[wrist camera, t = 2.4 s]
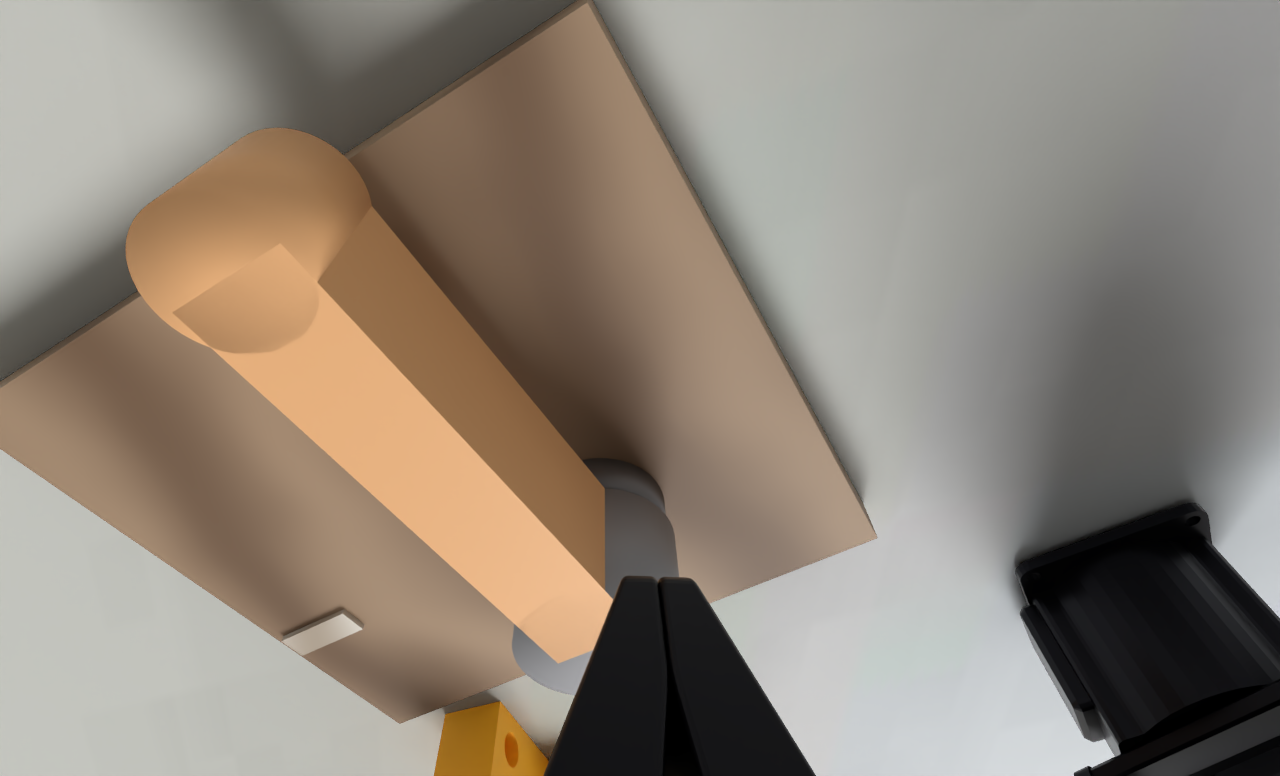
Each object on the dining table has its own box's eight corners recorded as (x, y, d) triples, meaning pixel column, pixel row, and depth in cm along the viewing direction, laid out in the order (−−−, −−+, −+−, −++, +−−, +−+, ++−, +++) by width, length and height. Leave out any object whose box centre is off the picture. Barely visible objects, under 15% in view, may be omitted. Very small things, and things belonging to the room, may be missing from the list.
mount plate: (588, -8, 16) (586, 11, 13) (863, 505, 25) (889, 566, 23) (-7, 385, 21) (-80, 446, 18) (408, 689, 30) (392, 753, 28)
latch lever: (700, 559, 22) (715, 662, 19) (576, 610, 23) (573, 714, 20) (326, 78, 14) (251, 131, 11) (162, 193, 15) (54, 270, 12)
